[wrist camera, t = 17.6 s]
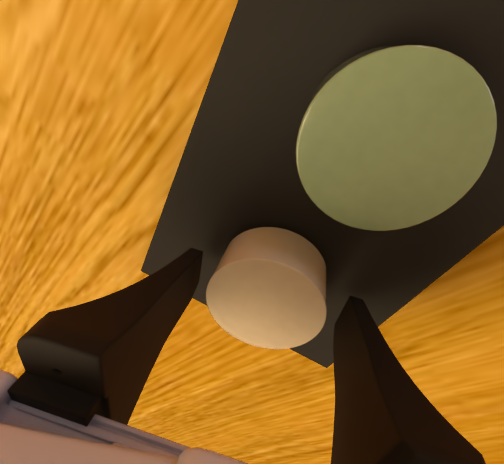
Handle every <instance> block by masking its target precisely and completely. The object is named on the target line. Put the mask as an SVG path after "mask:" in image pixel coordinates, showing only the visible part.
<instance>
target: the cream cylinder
mask: <svg viewBox="0 0 504 464" xmlns="http://www.w3.org/2000/svg"><path fill="white" fill-rule="evenodd" d="M206 302H207V305H208V309H209V311H210V313H211V315H212V316H213V318H214V319H215V321H216V322H217V323H218V324H219V325H220V326H221V327H222V328H223V329H224V330H225V331H226V332H227V333H229V334H230V335H232V336H233V337H235V338H237V339H238V340H240V341H243V342H245V343H247V344H250V345H253V346H257V347H261V348H267V349H288V348H294V347H297V346H300V345H303V344H305V343H307V342H309V341H310V340H312V339H313V338H314V337H316V336H317V334H318V333H319V332H320V331H321V329H322V328H323V326H324V323H325V321H326V316H327V269H326V265H325V262H324V259H323V257H322V256H321V254H320V252H319V251H318V250H317V248H316V247H315V246H314V245H313V244H312V243H310V242H309V241H308V240H307V239H305V238H304V237H302V236H301V235H299V234H297V233H294V232H292V231H289V230H286V229H282V228H276V227H260V228H254V229H250V230H248V231H245V232H243V233H241V234H239V235H238V236H236V237H235V238H234V239H233V240H232V241H231V242H230V243H229V244H228V246H227V247H226V249H225V251H224V253H223V255H222V257H221V259H220V261H219V263H218V265H217V267H216V269H215V271H214V273H213V275H212V276H211V278H210V280H209V283H208V285H207V289H206Z"/></svg>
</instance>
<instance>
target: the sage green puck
mask: <svg viewBox="0 0 504 464" xmlns="http://www.w3.org/2000/svg"><path fill="white" fill-rule="evenodd" d="M496 130H497V113H496V108H495V103H494V99H493V96H492V94H491V91H490V89H489V87H488V85H487V83H486V82H485V80H484V79H483V77H482V76H481V75H480V74H479V72H478V71H477V70H476V69H475V68H474V67H473V66H472V65H471V64H469V63H468V62H467V61H465V60H464V59H463V58H461V57H459V56H457V55H455V54H453V53H451V52H449V51H446V50H443V49H440V48H437V47H431V46H425V45H391V46H383V47H376V48H373V49H369V50H366V51H363V52H361V53H359V54H356V55H354V56H352V57H351V58H349V59H347V60H345V61H344V62H342V63H341V64H340V65H338V66H337V67H336V68H334V69H333V70H332V71H331V72H330V73H329V74H328V75H327V76H326V77H325V78H324V80H323V81H322V82H321V83H320V84H319V86H318V87H317V89H316V90H315V92H314V93H313V95H312V97H311V99H310V101H309V103H308V105H307V108H306V111H305V114H304V116H303V119H302V122H301V125H300V128H299V131H298V136H297V141H296V165H297V170H298V174H299V177H300V180H301V183H302V185H303V187H304V189H305V191H306V193H307V194H308V196H309V197H310V199H311V200H312V201H313V202H314V203H315V205H316V206H317V207H318V208H319V209H321V210H322V211H323V212H324V213H325V214H327V215H328V216H330V217H331V218H333V219H334V220H336V221H338V222H341V223H343V224H345V225H348V226H351V227H354V228H359V229H363V230H372V231H387V230H397V229H402V228H407V227H410V226H413V225H417V224H420V223H422V222H424V221H427V220H429V219H431V218H433V217H435V216H437V215H439V214H441V213H442V212H444V211H445V210H447V209H448V208H450V207H451V206H452V205H454V204H455V203H456V202H457V201H458V200H460V199H461V198H462V197H463V196H464V195H465V194H466V193H467V192H468V191H469V190H470V189H471V188H472V186H473V185H474V184H475V182H476V181H477V180H478V178H479V177H480V175H481V174H482V172H483V170H484V168H485V167H486V165H487V163H488V160H489V158H490V156H491V153H492V150H493V146H494V143H495V138H496Z"/></svg>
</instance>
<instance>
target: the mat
mask: <svg viewBox="0 0 504 464" xmlns="http://www.w3.org/2000/svg"><path fill="white" fill-rule="evenodd" d="M391 45H425V46H431V47H437V48H440V49H443V50H446V51H449V52H451V53H453V54H455V55H457V56H459V57H461V58H463V59H464V60H465V61H467V62H468V63H469V64H471V65H472V66H473V67H474V68H475V69H476V70H477V71H478V72H479V74H480V75H481V76H482V77H483V79H484V80H485V82H486V83H487V85H488V87H489V89H490V91H491V94H492V96H493V99H494V103H495V108H496V113H497V130H496V138H495V143H494V146H493V150H492V153H491V156H490V158H489V160H488V163H487V165H486V167H485V168H484V170H483V172H482V174H481V175H480V177H479V178H478V180H477V181H476V182H475V184H474V185H473V186H472V188H471V189H470V190H469V191H468V192H467V193H466V194H465V195H464V196H463V197H462V198H461V199H460V200H458V201H457V202H456V203H455V204H454V205H452V206H451V207H450V208H448V209H447V210H445V211H444V212H442V213H441V214H439V215H437V216H435V217H433V218H431V219H429V220H427V221H424V222H422V223H420V224H417V225H413V226H410V227H407V228H402V229H397V230H387V231H372V230H363V229H359V228H354V227H351V226H348V225H345V224H343V223H341V222H338V221H336V220H334V219H333V218H331V217H330V216H328V215H327V214H325V213H324V212H323V211H322V210H321V209H319V208H318V207H317V206H316V205H315V203H314V202H313V201H312V200H311V199H310V197H309V196H308V194H307V193H306V191H305V189H304V187H303V185H302V183H301V180H300V177H299V174H298V170H297V165H296V141H297V136H298V131H299V128H300V125H301V122H302V119H303V116H304V114H305V111H306V108H307V105H308V103H309V101H310V99H311V97H312V95H313V93H314V92H315V90H316V89H317V87H318V86H319V84H320V83H321V82H322V81H323V80H324V78H325V77H326V76H327V75H328V74H329V73H330V72H331V71H332V70H333V69H334V68H336V67H337V66H338V65H340V64H341V63H342V62H344V61H345V60H347V59H349V58H351V57H352V56H354V55H356V54H359V53H361V52H363V51H366V50H369V49H373V48H376V47H383V46H391ZM503 225H504V0H238V3H237V6H236V9H235V11H234V14H233V17H232V20H231V22H230V25H229V28H228V31H227V34H226V36H225V39H224V42H223V45H222V47H221V50H220V53H219V56H218V59H217V61H216V64H215V67H214V70H213V72H212V75H211V78H210V81H209V83H208V86H207V89H206V92H205V95H204V97H203V100H202V103H201V106H200V108H199V111H198V114H197V117H196V119H195V122H194V125H193V128H192V131H191V133H190V136H189V139H188V142H187V144H186V147H185V150H184V153H183V156H182V158H181V161H180V164H179V167H178V169H177V172H176V175H175V178H174V180H173V183H172V186H171V189H170V192H169V194H168V197H167V200H166V203H165V205H164V208H163V211H162V214H161V217H160V219H159V222H158V225H157V228H156V230H155V233H154V236H153V239H152V241H151V244H150V247H149V250H148V253H147V255H146V258H145V261H144V264H143V266H142V269H141V271H142V272H144V273H146V274H148V275H151V274H153V273H155V272H156V271H158V270H159V269H161V268H162V267H164V266H166V265H167V264H169V263H170V262H172V261H173V260H174V259H176V258H177V257H179V256H180V255H181V254H183V253H184V252H185V251H187V250H188V249H190V248H194V249H197V250H201V251H203V257H202V264H201V272H200V279H199V283H198V286H197V288H196V290H195V292H194V294H193V297H192V298H194V299H196V300H198V301H200V302H201V303H203V304H205V305H207V302H206V289H207V285H208V283H209V280H210V278H211V276H212V275H213V273H214V271H215V269H216V267H217V265H218V263H219V261H220V259H221V257H222V255H223V253H224V251H225V249H226V247H227V246H228V244H229V243H230V242H231V241H232V240H233V239H234V238H235V237H236V236H238V235H239V234H241V233H243V232H245V231H248V230H250V229H254V228H260V227H276V228H282V229H286V230H289V231H292V232H294V233H297V234H299V235H301V236H302V237H304V238H305V239H307V240H308V241H309V242H310V243H312V244H313V245H314V246H315V247H316V248H317V250H318V251H319V252H320V254H321V256H322V257H323V259H324V262H325V265H326V269H327V316H326V321H325V323H324V326H323V328H322V329H321V331H320V332H319V333H318V334H317V336H316V337H314V338H313V339H312V340H310V341H309V342H307V343H305V344H303V345H300V346H297V347H294V348H290V349H291V350H293V351H295V352H297V353H299V354H301V355H303V356H305V357H307V358H309V359H311V360H313V361H314V362H316V363H318V364H320V365H322V366H324V367H326V368H327V367H329V366H330V365H331V364H332V363H334V357H333V337H334V326H335V322H336V320H337V319H338V317H339V315H340V313H341V311H342V309H343V307H344V306H345V304H346V302H347V300H348V298H349V296H354V297H357V298H360V299H363V300H364V302H365V304H366V306H367V308H368V310H369V312H370V314H371V316H372V317H373V319H374V321H375V323H376V325H377V327H378V326H379V325H381V324H382V323H383V322H384V321H386V320H387V319H388V318H389V317H391V316H392V315H393V314H394V313H395V312H397V311H398V310H399V309H400V308H402V307H403V306H404V305H405V304H407V303H408V302H409V301H410V300H412V299H413V298H414V297H415V296H417V295H418V294H419V293H420V292H422V291H423V290H424V289H425V288H426V287H428V286H429V285H430V284H431V283H433V282H434V281H435V280H436V279H438V278H439V277H440V276H441V275H443V274H444V273H445V272H446V271H448V270H449V269H450V268H451V267H452V266H454V265H455V264H456V263H457V262H459V261H460V260H461V259H462V258H464V257H465V256H466V255H467V254H469V253H470V252H471V251H472V250H474V249H475V248H476V247H477V246H479V245H480V244H481V243H482V242H483V241H485V240H486V239H487V238H488V237H490V236H491V235H492V234H493V233H495V232H496V231H497V230H498V229H500V228H501V227H502V226H503ZM207 306H208V305H207Z"/></svg>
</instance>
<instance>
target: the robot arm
mask: <svg viewBox="0 0 504 464" xmlns="http://www.w3.org/2000/svg"><path fill="white" fill-rule="evenodd" d="M202 257H203V251H201V250H197V249H194V248H190V249H188V250H187V251H185V252H184V253H183V254H181V255H180V256H179V257H177V258H176V259H174V260H173V261H172V262H170V263H169V264H167V265H166V266H164V267H162V268H161V269H159V270H158V271H156V272H155V273H153V274H151V275H149V276H148V277H146V278H144V279H142V280H141V281H139V282H137V283H135V284H133V285H131V286H129V287H127V288H124V289H122V290H120V291H117V292H115V293H112V294H110V295H107V296H105V297H102V298H99V299H96V300H93V301H90V302H87V303H84V304H80V305H77V306H73V307H69V308H65V309H61V310H57V311H52V312H49V313H48V314H46V315H45V316H44V317H43V318H41V319H40V320H39V321H38V322H37V323H36V324H35V325H34V326H33V327H32V328H31V329H30V330H29V331H28V332H26V333H25V334H24V335H23V336H22V337H21V338H20V339H19V340H18V343H17V349H18V353H19V355H20V358H21V360H22V363H23V366H24V368H25V372H24V373H23V374H22V375H21V376H20V378H19V379H17V377H15V376H14V375H13V374H11V373H9V372H6V371H3V370H0V464H248V463H245V462H242V461H239V460H236V459H233V458H231V457H228V456H225V455H222V454H219V453H216V452H214V451H211V450H207V449H202V448H198V447H197V448H190V447H187V446H184V445H181V444H179V443H176V442H173V441H170V440H167V439H164V438H162V437H159V436H156V435H153V434H150V433H147V432H145V431H142V430H139V429H136V428H133V427H130V426H128V425H127V424H128V421H129V419H130V417H131V414H132V412H133V410H134V407H135V405H136V403H137V401H138V398H139V396H140V394H141V392H142V390H143V387H144V385H145V383H146V381H147V379H148V376H149V374H150V372H151V370H152V368H153V366H154V364H155V362H156V360H157V358H158V356H159V353H160V351H161V349H162V347H163V345H164V343H165V342H166V340H167V338H168V336H169V335H170V333H171V331H172V330H173V328H174V327H175V325H176V323H177V322H178V320H179V319H180V317H181V315H182V314H183V312H184V310H185V309H186V307H187V306H188V304H189V302H190V301H191V299H192V297H193V294H194V292H195V290H196V288H197V286H198V283H199V279H200V272H201V264H202ZM333 357H334V377H335V417H334V433H333V446H332V457H331V464H486V463H485V461H484V459H483V456H482V454H481V453H480V452H479V451H478V450H476V449H475V448H474V447H473V446H472V445H471V444H470V443H469V442H468V441H467V440H466V439H465V438H464V437H463V436H462V435H461V434H460V433H459V432H458V431H456V430H455V429H454V428H453V426H452V425H451V424H450V423H449V422H448V421H447V420H446V419H445V418H444V417H443V416H442V415H441V414H440V413H439V412H438V411H437V410H436V408H435V407H434V406H433V405H432V404H431V403H430V402H429V400H428V399H427V398H426V397H425V396H424V395H423V393H422V392H421V391H420V390H419V389H418V387H417V386H416V385H415V384H414V382H413V381H412V380H411V378H410V377H409V376H408V374H407V373H406V372H405V370H404V369H403V367H402V366H401V365H400V363H399V362H398V360H397V359H396V357H395V356H394V354H393V352H392V351H391V349H390V348H389V346H388V344H387V343H386V341H385V339H384V338H383V336H382V334H381V332H380V331H379V329H378V327H377V325H376V323H375V321H374V319H373V317H372V316H371V314H370V312H369V310H368V308H367V306H366V304H365V302H364V300H363V299H360V298H357V297H354V296H349V298H348V300H347V302H346V304H345V306H344V307H343V309H342V311H341V313H340V315H339V317H338V319H337V320H336V322H335V326H334V337H333Z"/></svg>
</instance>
